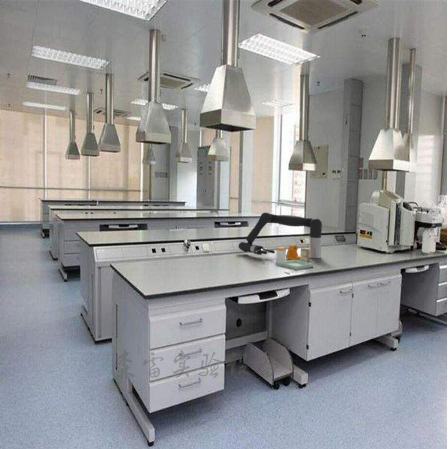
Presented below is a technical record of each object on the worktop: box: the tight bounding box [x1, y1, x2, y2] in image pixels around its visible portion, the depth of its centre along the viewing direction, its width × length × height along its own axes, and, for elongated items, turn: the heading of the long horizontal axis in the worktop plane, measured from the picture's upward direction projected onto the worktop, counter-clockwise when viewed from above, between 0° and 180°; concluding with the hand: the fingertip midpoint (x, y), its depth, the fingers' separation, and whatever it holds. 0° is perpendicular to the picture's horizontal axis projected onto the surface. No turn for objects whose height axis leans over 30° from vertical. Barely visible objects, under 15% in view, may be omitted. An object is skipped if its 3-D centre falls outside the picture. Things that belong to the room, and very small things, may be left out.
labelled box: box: [275, 246, 287, 264], centre depth 285 cm, size 5×5×12 cm
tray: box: [277, 259, 314, 271], centre depth 273 cm, size 18×18×3 cm
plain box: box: [299, 247, 311, 263], centre depth 284 cm, size 5×5×12 cm
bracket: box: [286, 244, 301, 261], centre depth 301 cm, size 11×7×12 cm, turn 117°
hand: (270, 252), depth 294 cm, fingers open, 8 cm apart
